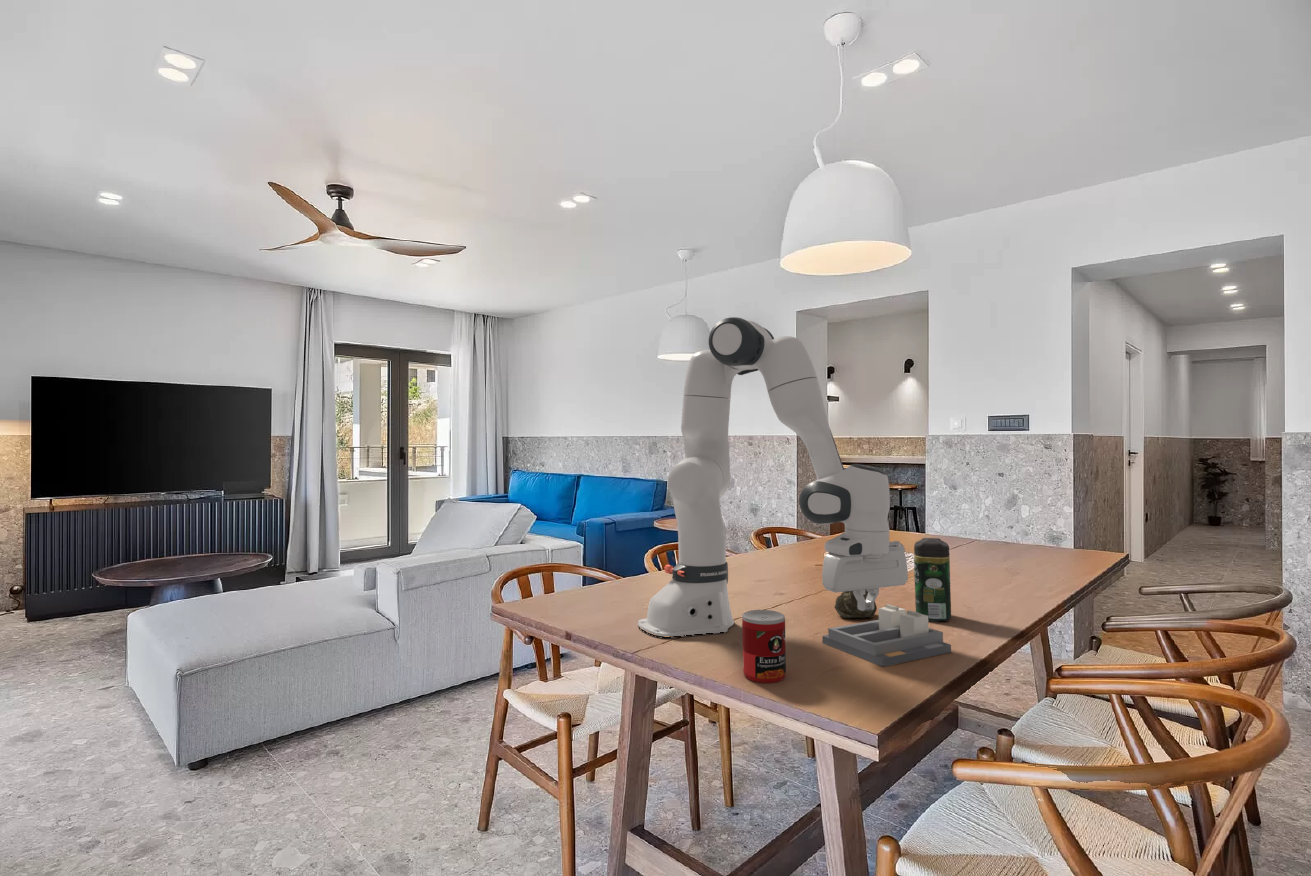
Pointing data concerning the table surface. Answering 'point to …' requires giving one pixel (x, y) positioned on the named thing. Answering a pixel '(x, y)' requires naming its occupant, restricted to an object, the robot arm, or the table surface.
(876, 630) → the switch bank
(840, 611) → the dark green lumpy mound
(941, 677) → the table surface
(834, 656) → the table surface
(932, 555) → the coffee jar
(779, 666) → the canned food
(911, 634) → the tab near
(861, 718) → the table surface
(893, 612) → the tab far
